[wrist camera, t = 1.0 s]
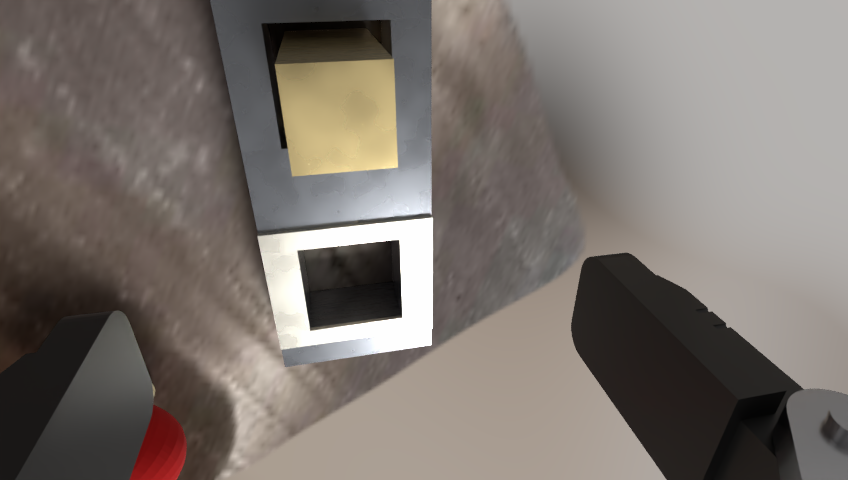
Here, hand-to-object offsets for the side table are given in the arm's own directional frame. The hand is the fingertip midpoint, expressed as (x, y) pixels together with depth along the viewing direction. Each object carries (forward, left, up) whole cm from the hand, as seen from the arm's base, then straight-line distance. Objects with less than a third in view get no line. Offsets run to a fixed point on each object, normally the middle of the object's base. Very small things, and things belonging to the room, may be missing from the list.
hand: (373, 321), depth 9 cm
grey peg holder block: (+6, 0, -22) cm, 23 cm away
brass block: (0, 0, -22) cm, 22 cm away
